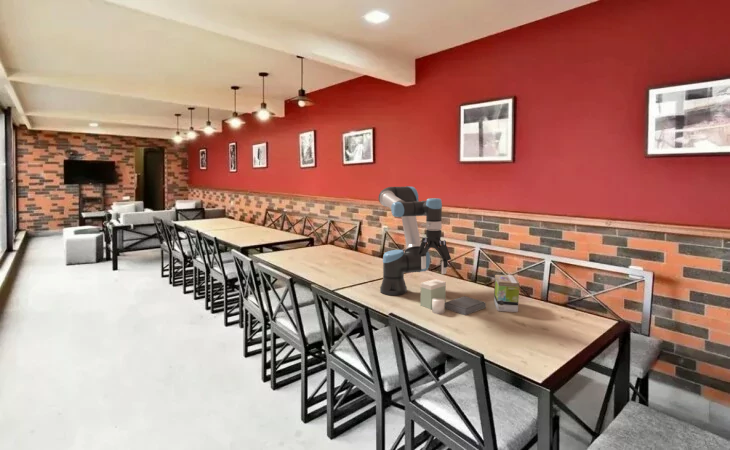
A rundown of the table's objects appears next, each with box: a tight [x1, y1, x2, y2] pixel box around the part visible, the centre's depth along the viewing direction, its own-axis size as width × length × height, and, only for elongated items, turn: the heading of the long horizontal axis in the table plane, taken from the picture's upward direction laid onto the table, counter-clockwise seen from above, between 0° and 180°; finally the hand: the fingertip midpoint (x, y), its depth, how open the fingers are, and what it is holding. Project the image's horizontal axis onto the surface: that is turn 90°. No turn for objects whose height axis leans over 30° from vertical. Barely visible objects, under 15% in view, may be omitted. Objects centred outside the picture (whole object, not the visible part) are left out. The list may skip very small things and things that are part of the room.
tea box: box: [493, 274, 520, 313], centre depth 198 cm, size 15×10×15 cm
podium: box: [445, 295, 486, 316], centre depth 198 cm, size 13×16×3 cm
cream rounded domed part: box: [431, 298, 446, 315], centre depth 193 cm, size 6×6×6 cm
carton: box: [419, 278, 447, 310], centre depth 202 cm, size 7×11×12 cm, turn 128°
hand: (433, 271), depth 200 cm, fingers open, 13 cm apart
